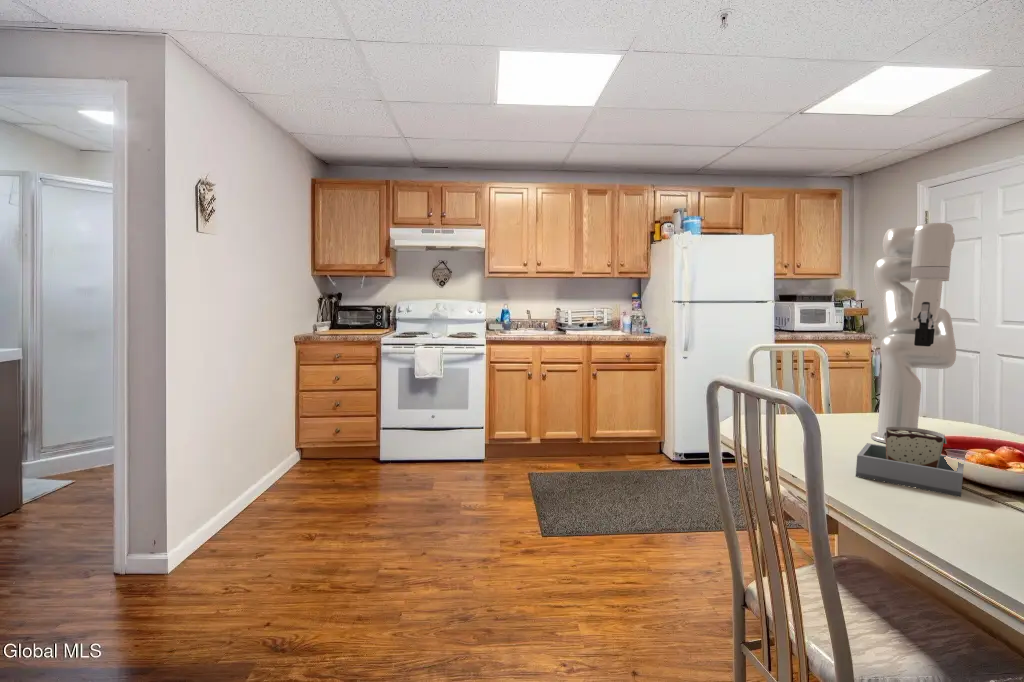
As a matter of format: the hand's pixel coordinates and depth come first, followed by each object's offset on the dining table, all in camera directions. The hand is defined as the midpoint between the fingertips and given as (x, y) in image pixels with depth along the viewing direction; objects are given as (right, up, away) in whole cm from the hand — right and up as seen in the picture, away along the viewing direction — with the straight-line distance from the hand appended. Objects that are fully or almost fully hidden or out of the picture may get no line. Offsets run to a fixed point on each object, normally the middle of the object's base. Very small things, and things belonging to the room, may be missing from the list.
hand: (923, 344), depth 135 cm
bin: (-9, -31, -8) cm, 33 cm away
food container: (-8, -30, -6) cm, 32 cm away
